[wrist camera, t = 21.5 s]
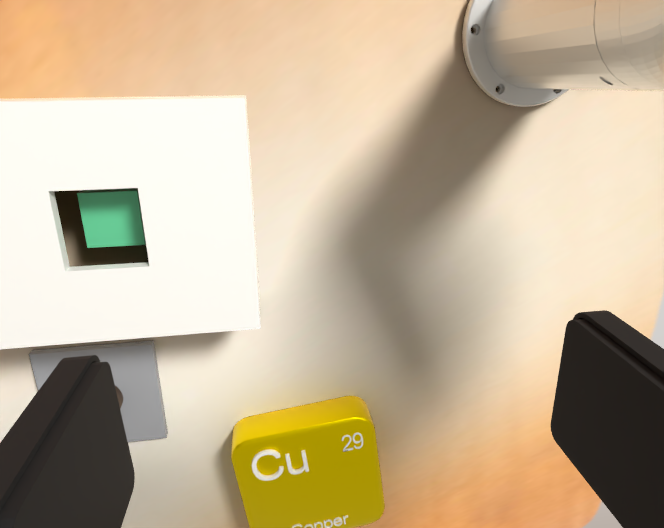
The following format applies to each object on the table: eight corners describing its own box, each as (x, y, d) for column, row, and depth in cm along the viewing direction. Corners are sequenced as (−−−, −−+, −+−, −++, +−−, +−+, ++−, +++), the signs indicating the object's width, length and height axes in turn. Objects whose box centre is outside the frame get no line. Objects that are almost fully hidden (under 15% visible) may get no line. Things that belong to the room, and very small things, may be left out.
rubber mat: (153, 340, 48) (151, 344, 47) (167, 432, 52) (166, 437, 51) (32, 350, 46) (28, 354, 46) (56, 444, 50) (53, 450, 50)
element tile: (255, 520, 58) (255, 556, 54) (228, 418, 53) (226, 448, 48) (378, 492, 60) (388, 525, 55) (364, 389, 54) (374, 416, 50)
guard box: (246, 95, 42) (244, 97, 34) (259, 290, 48) (260, 328, 41) (-38, 99, 39) (-107, 103, 31) (15, 307, 45) (-31, 351, 37)
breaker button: (147, 181, 42) (136, 190, 38) (154, 231, 43) (145, 244, 40) (92, 183, 41) (76, 193, 38) (101, 233, 43) (87, 247, 39)
